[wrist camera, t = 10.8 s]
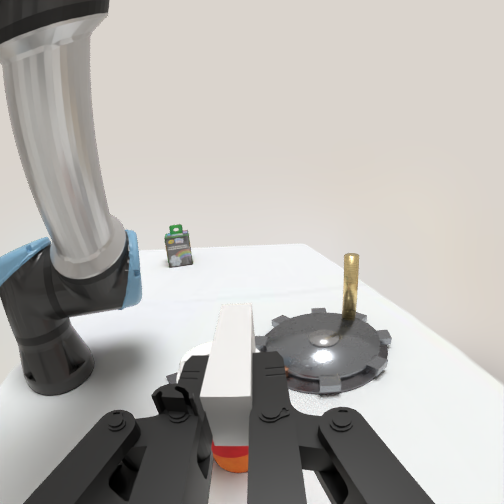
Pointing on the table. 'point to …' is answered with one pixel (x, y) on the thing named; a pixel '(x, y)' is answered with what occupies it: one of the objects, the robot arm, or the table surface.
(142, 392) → the table surface
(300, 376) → the sprocket
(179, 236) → the chalk box
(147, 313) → the table surface
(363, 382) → the sprocket base
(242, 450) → the paper cup
